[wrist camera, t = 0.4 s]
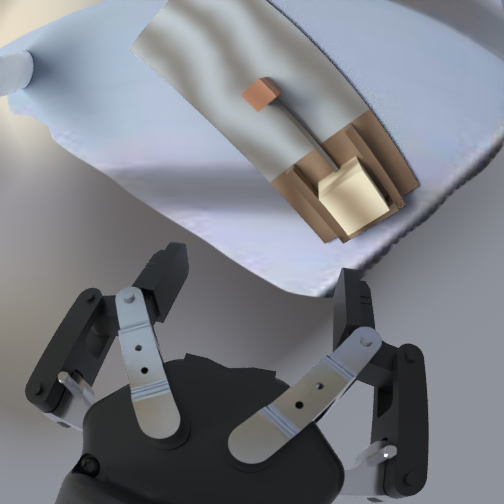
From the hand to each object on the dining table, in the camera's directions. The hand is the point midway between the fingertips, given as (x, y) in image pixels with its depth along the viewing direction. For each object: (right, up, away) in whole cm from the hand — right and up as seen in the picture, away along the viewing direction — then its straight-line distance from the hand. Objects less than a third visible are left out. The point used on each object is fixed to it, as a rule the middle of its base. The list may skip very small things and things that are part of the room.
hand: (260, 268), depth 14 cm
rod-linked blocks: (+7, +14, +18) cm, 24 cm away
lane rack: (+3, +19, +16) cm, 25 cm away
